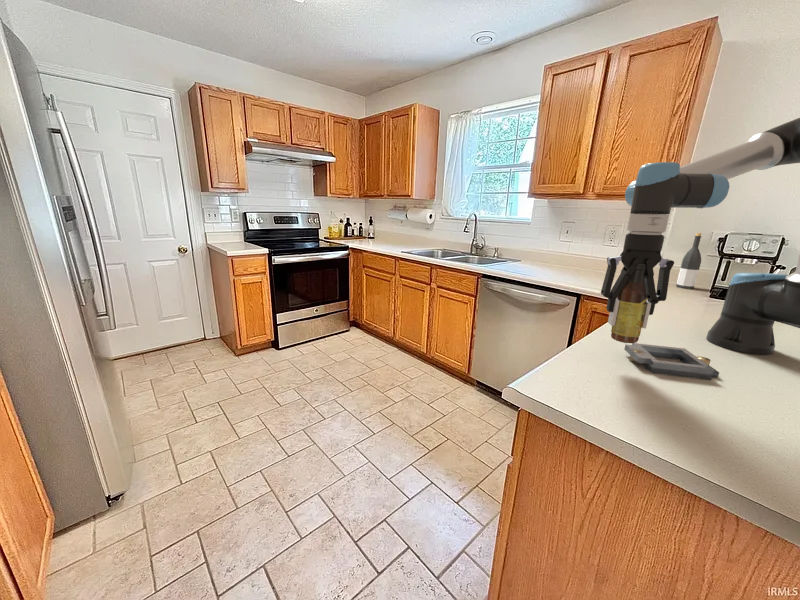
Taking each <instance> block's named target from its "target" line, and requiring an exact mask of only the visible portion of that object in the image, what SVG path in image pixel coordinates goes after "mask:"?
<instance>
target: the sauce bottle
mask: <svg viewBox="0 0 800 600" xmlns="http://www.w3.org/2000/svg"><path fill="white" fill-rule="evenodd" d="M645 270H646V264H638V266H637V267H636V268H635V271H634V272H633V273H632V275H631V276H630V277H629V278H628V280H627V282H626V284H625V285H624V287H623V289H622V290H621V292H620V294H619V295H618V297H617V300H619V301H620V302H619V307H618V312H617V317H616V322H615V326H611V328H610V329H611V330H610V331H611V334H610V336H611V339H613V340H614V341H616V342H620V343H624V344H632V343H638V341H639V338H640V336H641V331H642V329H643V328H642V323H643V318H644V313H645V307H646V302H647V301H648V300H647V292H646V287H645V282H644V280H645V279H644V278H645V273H644V271H645Z"/></svg>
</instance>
